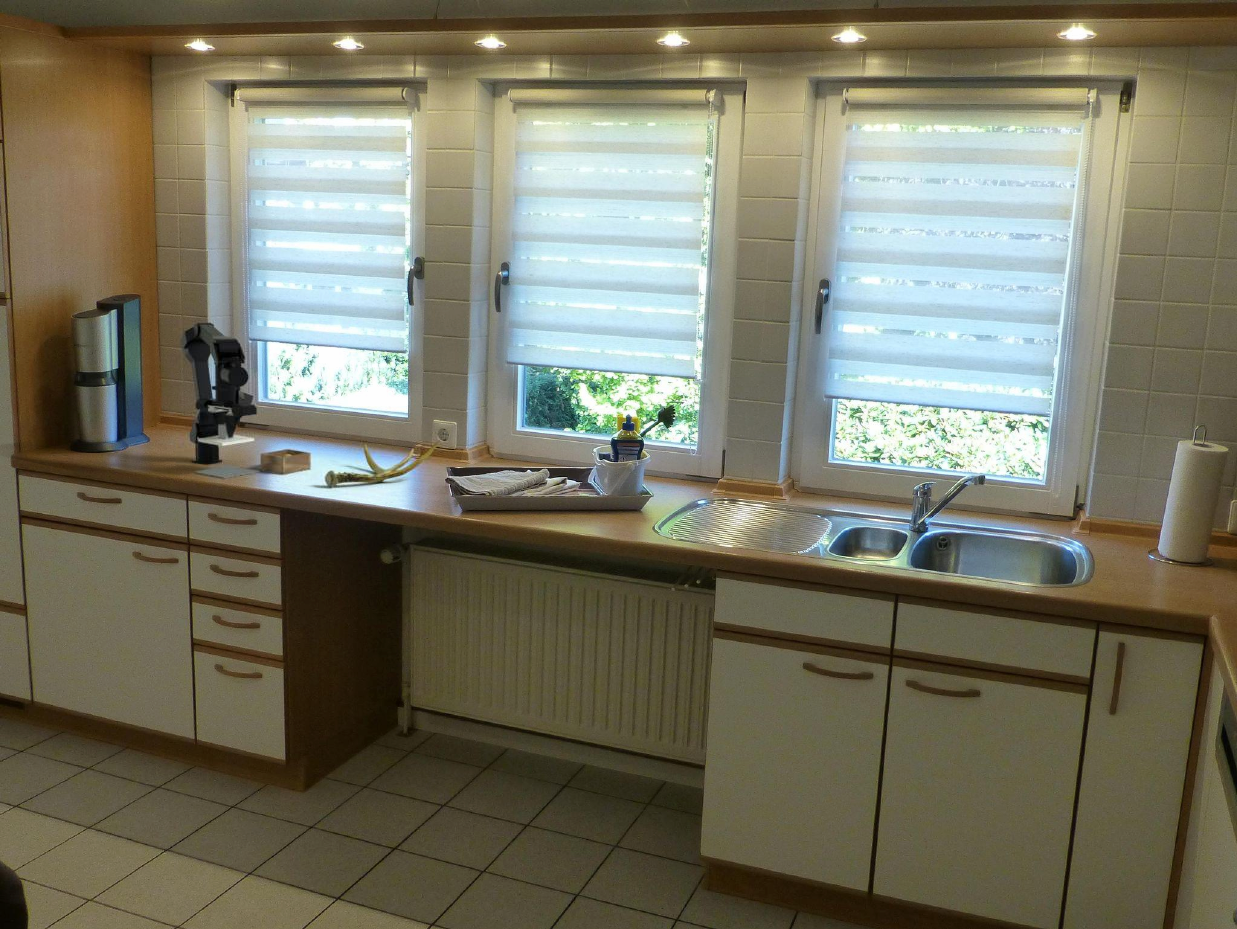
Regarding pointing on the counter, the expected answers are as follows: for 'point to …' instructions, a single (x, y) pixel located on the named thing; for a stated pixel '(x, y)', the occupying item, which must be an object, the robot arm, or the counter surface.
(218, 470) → the mat
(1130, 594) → the counter surface
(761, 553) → the counter surface
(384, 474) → the antler
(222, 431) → the lid
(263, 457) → the crate
